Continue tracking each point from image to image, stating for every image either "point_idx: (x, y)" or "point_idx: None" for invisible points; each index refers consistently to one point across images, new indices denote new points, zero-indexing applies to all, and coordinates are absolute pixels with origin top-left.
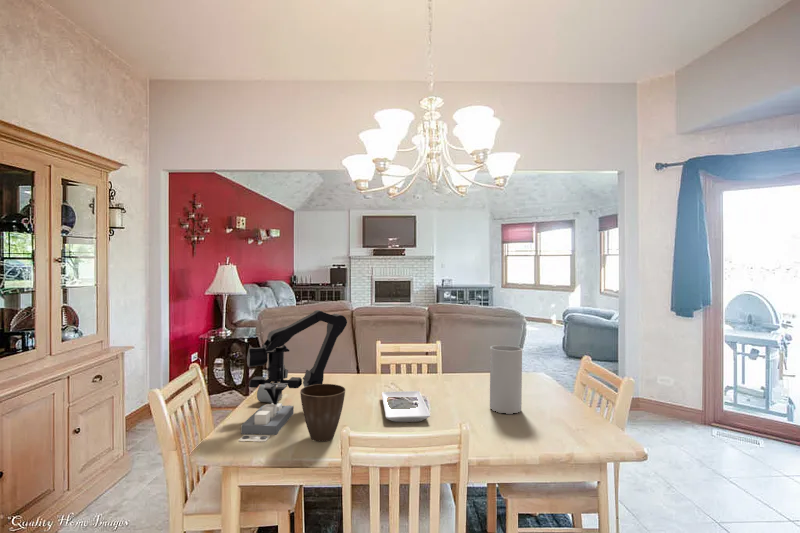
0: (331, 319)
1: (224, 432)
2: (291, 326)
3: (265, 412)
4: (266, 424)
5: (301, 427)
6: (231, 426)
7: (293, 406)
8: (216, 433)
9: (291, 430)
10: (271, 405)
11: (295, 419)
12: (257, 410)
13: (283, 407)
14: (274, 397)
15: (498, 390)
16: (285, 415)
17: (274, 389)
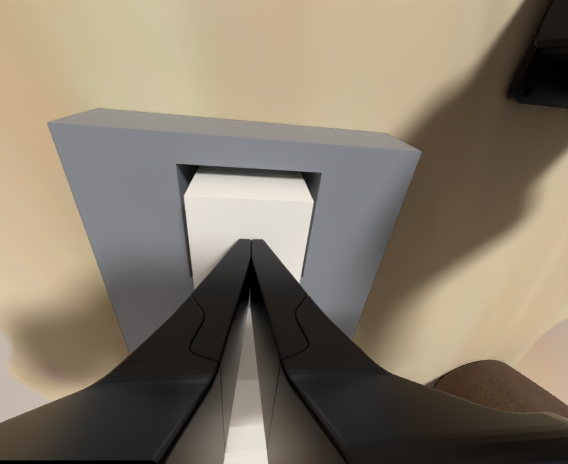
0: None
1: (81, 385)
2: None
3: (259, 462)
4: None
5: (413, 327)
6: (55, 340)
7: (417, 157)
8: (52, 394)
9: (369, 351)
10: (257, 395)
11: (393, 244)
12: (104, 277)
13: (321, 201)
14: (240, 340)
15: None
16: (352, 337)
17: (209, 450)
